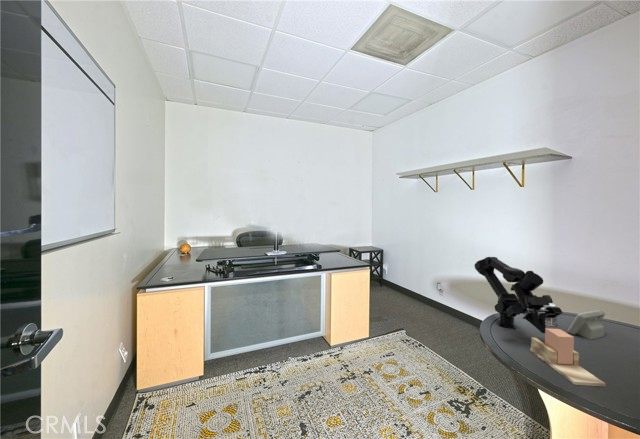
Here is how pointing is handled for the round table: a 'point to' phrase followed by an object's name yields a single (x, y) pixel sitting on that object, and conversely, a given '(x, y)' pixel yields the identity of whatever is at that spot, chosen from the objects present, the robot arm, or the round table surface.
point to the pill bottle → (550, 320)
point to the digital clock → (588, 324)
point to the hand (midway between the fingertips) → (544, 333)
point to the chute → (564, 365)
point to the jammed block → (560, 345)
